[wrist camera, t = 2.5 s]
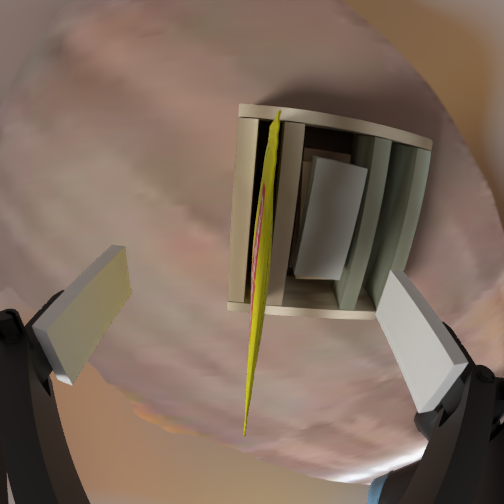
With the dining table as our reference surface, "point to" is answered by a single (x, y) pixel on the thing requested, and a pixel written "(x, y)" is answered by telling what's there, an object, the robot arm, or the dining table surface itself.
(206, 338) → the dining table surface
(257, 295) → the food package
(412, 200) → the rack
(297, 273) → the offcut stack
